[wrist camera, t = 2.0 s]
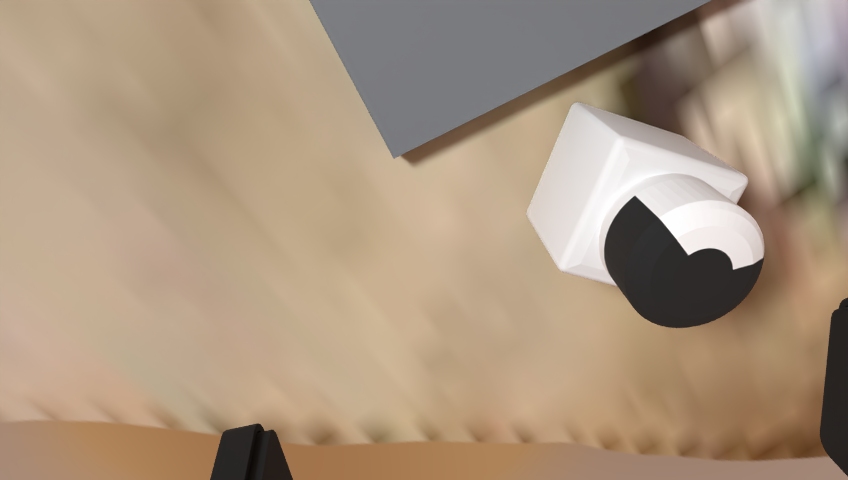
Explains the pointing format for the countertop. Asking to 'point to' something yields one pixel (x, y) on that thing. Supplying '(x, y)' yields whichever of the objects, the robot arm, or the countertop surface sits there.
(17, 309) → the countertop surface
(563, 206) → the medicine bottle
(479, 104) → the serving board
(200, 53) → the countertop surface
